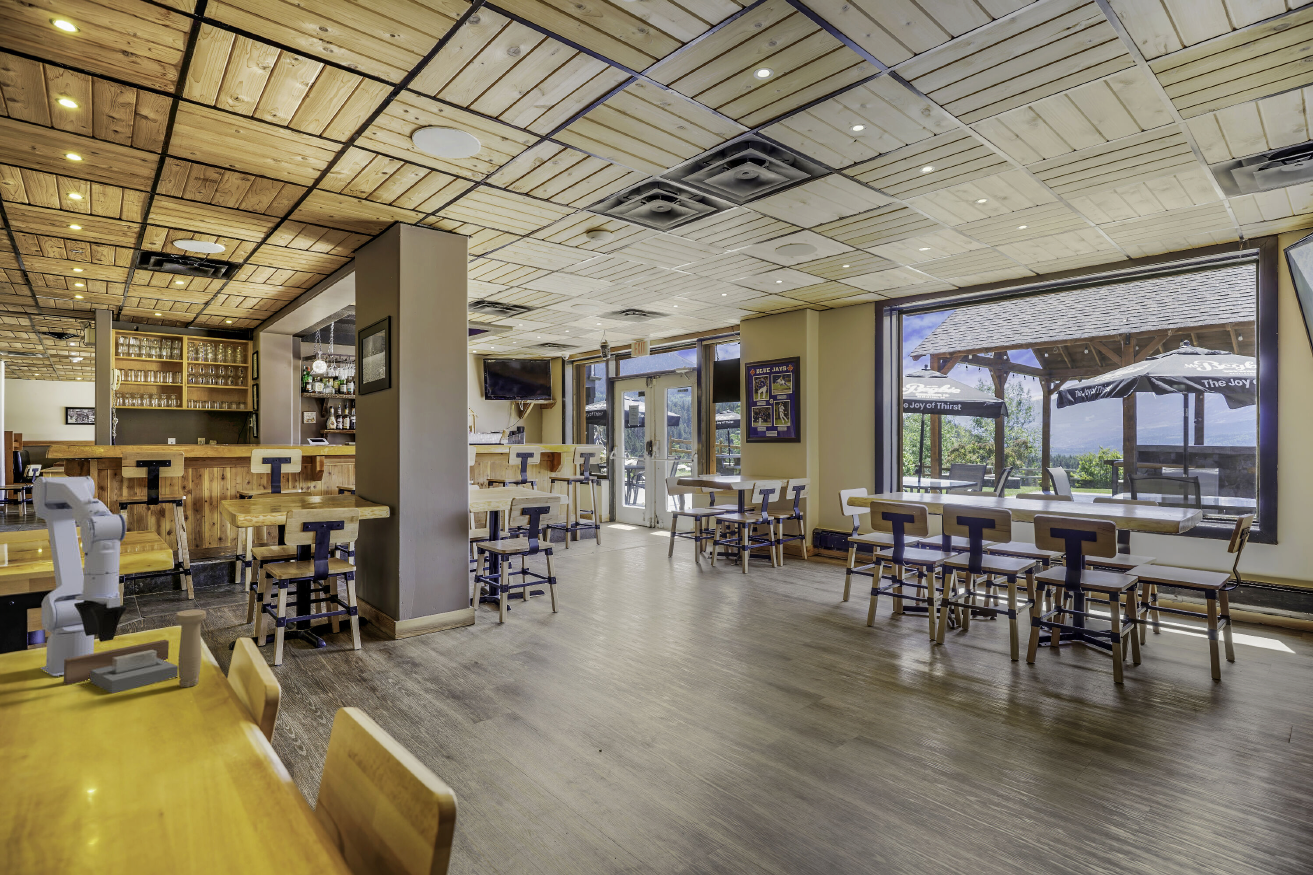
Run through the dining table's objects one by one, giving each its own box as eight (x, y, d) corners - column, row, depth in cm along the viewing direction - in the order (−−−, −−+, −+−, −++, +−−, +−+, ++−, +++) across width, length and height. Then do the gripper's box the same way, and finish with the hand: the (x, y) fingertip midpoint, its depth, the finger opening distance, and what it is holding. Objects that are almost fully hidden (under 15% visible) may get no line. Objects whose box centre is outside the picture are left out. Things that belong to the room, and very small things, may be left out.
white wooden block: (111, 684, 137) (112, 657, 137) (151, 674, 143) (152, 649, 143) (115, 686, 136) (116, 659, 136) (155, 676, 142) (156, 651, 142)
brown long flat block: (63, 683, 137) (64, 658, 137) (164, 661, 152) (165, 639, 153) (66, 684, 136) (67, 660, 136) (168, 662, 151) (168, 640, 151)
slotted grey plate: (90, 682, 138) (90, 670, 138) (154, 667, 148) (154, 656, 148) (111, 693, 132) (112, 680, 132) (177, 677, 141) (177, 665, 141)
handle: (179, 691, 133) (182, 617, 133) (170, 684, 137) (172, 612, 138) (207, 685, 137) (210, 613, 137) (197, 678, 141) (199, 608, 141)
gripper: (64, 571, 139) (62, 636, 138) (90, 579, 131) (88, 647, 131) (106, 567, 145) (104, 629, 144) (133, 574, 137) (131, 639, 137)
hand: (99, 637), depth 138 cm, fingers open, 7 cm apart
